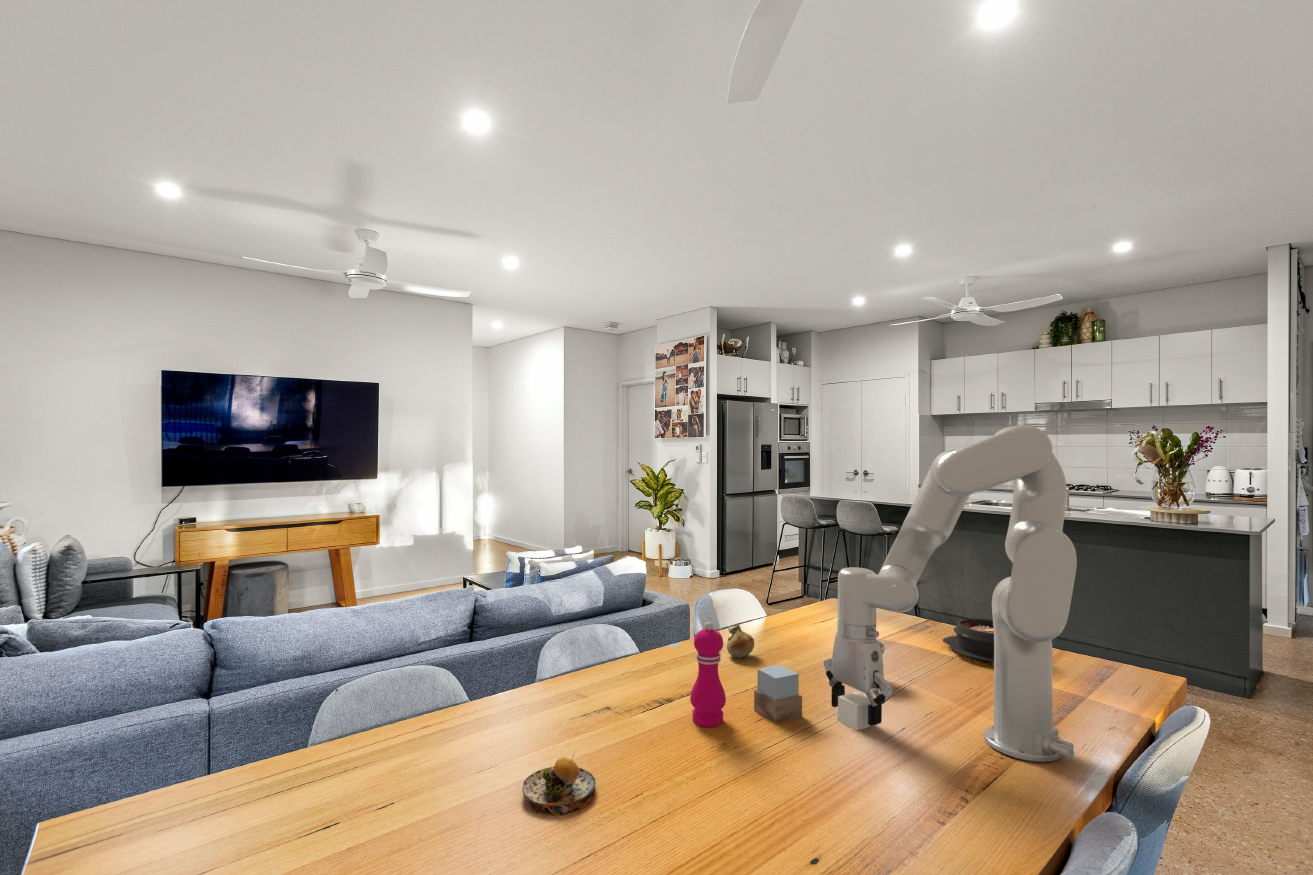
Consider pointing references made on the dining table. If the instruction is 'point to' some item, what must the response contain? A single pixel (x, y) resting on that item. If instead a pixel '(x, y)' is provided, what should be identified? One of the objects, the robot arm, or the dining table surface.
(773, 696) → the slate block
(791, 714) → the walnut block
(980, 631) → the casserole
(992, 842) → the dining table surface
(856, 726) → the cream block
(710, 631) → the pepper mill
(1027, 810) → the dining table surface
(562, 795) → the small plate of food
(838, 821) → the dining table surface
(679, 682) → the dining table surface
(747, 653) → the onion
